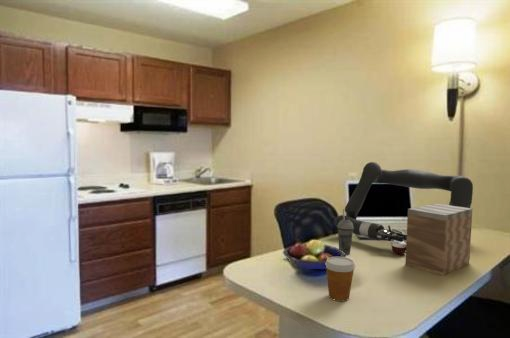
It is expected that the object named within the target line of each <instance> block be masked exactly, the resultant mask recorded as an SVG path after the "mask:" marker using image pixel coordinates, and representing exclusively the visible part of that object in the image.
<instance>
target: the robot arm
mask: <svg viewBox="0 0 510 338" xmlns="http://www.w3.org/2000/svg"><path fill="white" fill-rule="evenodd" d="M373 184H388V185H393V186H399V187H406V188H412V189H421V190H431V189H432V190H435V189H436V190H442V191H448V192H450V200H449V202H448V205H451V206H458V207H465V208H471V207H472V202H473V194H474V193H473V192H474V191H473V190H474V187H473V186H474V185H473V182H472V180H471V179H470V178H468V177H466V176H463V175H450V174H449V175H448V174H438V173H433V172H429V171H426V170H425V171H424V170H418V169H410V168H409V169H399V170H398V169H397V170H388V169H382V168H381V166H380V164H378V162H374V161H371V162H368V163H366V164H365V165H364V167H363V169H362V172H361V176H360V179H359V181H358V183H357V184H356V187H355V189H354V191H353V192H352V194H351V196H350V198H349V200H348V202H347V203H346V205H345V207H344V213H345V215H344V216H345V219H348V220H350V221H351V222H352V223H353V226H354V230H353V235H357V236H362V237H364V238H366V239H372V240H375V241H381V240H382V241H388V242H390V241H394V240H395V241H400V242H403V240H404V241H406V240H407V234H405V233H403V231H400V230H398V229H394V228H393V229H391V231H392V234H390V231H389V228H388V229H387V228H385V227H384V225H382V224H380V223H374V222H371V221H363V220H358V219H357V218H358V214H359V213H360V210H361V209H362V207H363V204H364V203H365V200H366V197H367V195H368V193H369V191H370V188H371V187H372V185H373ZM342 219H344V218H343V214H340V215H337V216H336V217H335V219H334V225H335V227H336V228H337V226H338V223H339V222H340V221H341V220H342Z"/></svg>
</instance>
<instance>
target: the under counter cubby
mask: <svg viewBox="0 0 510 338" xmlns="http://www.w3.org/2000/svg"><path fill="white" fill-rule="evenodd" d="M472 222H473V208H471V207H470V208H465V207H458V206H451V205H449V204H444V203H437V202H436V203H431V204H427V205H421V206H417V207H412V208H407V220H406V225H407V226H406V235H407V240H405V242H406V253H405V265H406V266H408V267H412V268H416V269H418V270H422V271H426V272H428V273H432V274H436V275H440V276H445V275H447V274H449V273H452V272H454V271H456V270H458V269H460V268H462V267H465V266H467V265H469V264H470V258H471V257H470V256H471V255H470V254H471V242H472V241H471V240H472V239H471V238H472Z"/></svg>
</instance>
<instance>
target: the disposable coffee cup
mask: <svg viewBox="0 0 510 338" xmlns="http://www.w3.org/2000/svg"><path fill="white" fill-rule="evenodd" d="M326 259H327V260H326V262H325V265H326V269H325V270H326V276H327V277H326V278H327V279H326V280H327V287H328V297H329V296H330V297H329V299H331V298H332V299H331V300H333V299H335V300H334V301H336V300H341V301H340V302H343V301H342V300H346V301H348V300H349V299H350V295H351V294H350V293H351V289H352V281H353V275H354V270H355V269H356V264H355V261H354V260H353V259H351V258H349V257H344V256H331V257H327V258H326ZM347 299H348V300H347Z"/></svg>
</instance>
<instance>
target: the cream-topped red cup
mask: <svg viewBox="0 0 510 338" xmlns="http://www.w3.org/2000/svg"><path fill="white" fill-rule="evenodd" d="M387 228H388V229H389V231H390V234H392V231H391V230H392V229H391V226H390V224H389V225H388V226H387ZM391 241H392V240H391ZM391 249H392V252H393V253H394V254H395V255H401V256H402V255H404V254H406V240H404V239H403V242H400V241H395V240H394V241H392V242H391Z"/></svg>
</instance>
